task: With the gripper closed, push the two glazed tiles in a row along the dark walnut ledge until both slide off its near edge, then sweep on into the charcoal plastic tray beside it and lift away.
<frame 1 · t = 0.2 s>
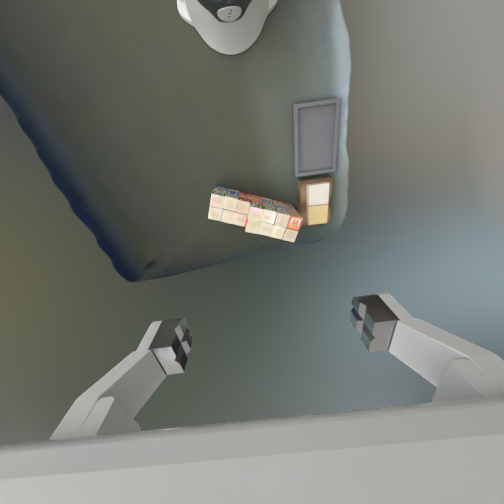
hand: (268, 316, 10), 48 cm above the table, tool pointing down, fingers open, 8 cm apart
tray: (313, 140, 48), on the table
cream tile: (316, 193, 51), point 3 cm above the table, touching walnut ledge
ochre tile: (315, 212, 53), point 3 cm above the table, touching walnut ledge
walnut ledge: (312, 200, 55), on the table
stack of blocks: (252, 205, 55), on the table
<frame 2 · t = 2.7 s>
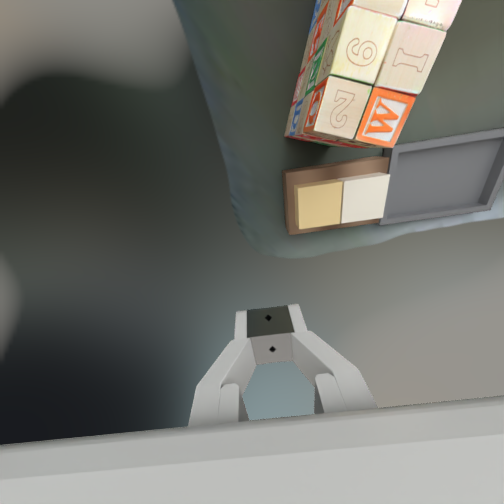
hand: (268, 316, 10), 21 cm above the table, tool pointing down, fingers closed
tray: (433, 178, 27), on the table
cream tile: (356, 196, 25), point 3 cm above the table, touching walnut ledge
ochre tile: (314, 202, 25), point 3 cm above the table, touching walnut ledge
walnut ledge: (326, 194, 28), on the table
stack of blocks: (339, 25, 20), on the table
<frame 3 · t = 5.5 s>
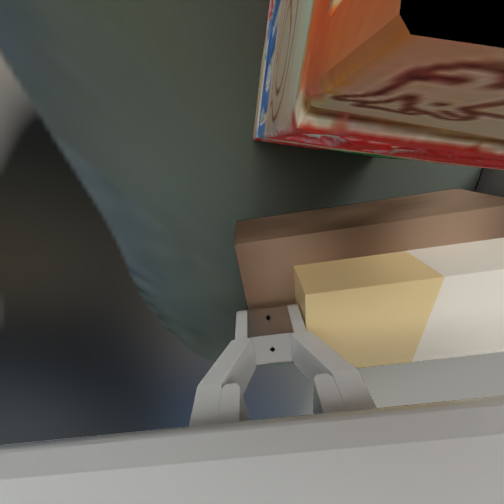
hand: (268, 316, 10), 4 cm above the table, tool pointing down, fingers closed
cream tile: (445, 287, 10), point 3 cm above the table, touching ochre tile
ochre tile: (344, 300, 10), point 3 cm above the table, touching cream tile, gripper
walnut ledge: (340, 266, 13), on the table
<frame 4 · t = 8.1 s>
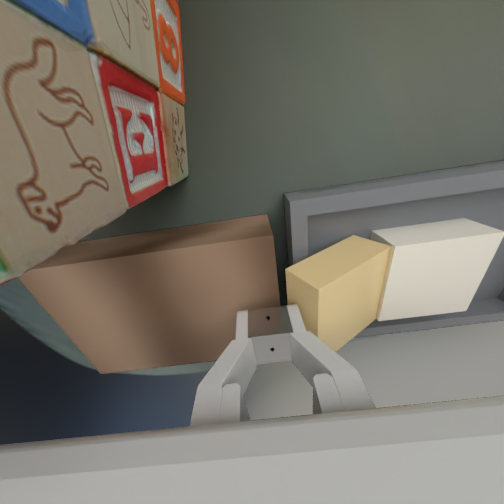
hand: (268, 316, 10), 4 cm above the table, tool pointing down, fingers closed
tray: (405, 254, 13), on the table
cream tile: (434, 282, 10), point 3 cm above the table, tilted 180°, touching ochre tile
ochre tile: (321, 288, 11), point 2 cm above the table, tilted 30°, touching cream tile, gripper
walnut ledge: (184, 284, 13), on the table
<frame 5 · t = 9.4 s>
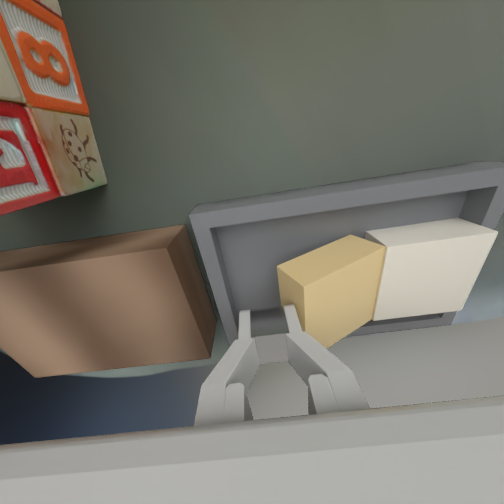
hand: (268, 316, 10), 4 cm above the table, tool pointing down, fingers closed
tray: (330, 262, 13), on the table
cream tile: (428, 281, 10), point 3 cm above the table, tilted 180°, touching ochre tile, tray
ochre tile: (316, 286, 12), point 2 cm above the table, tilted 26°, touching cream tile, gripper
walnut ledge: (118, 290, 14), on the table
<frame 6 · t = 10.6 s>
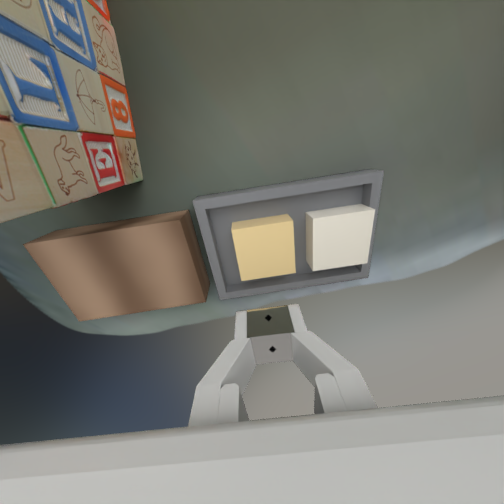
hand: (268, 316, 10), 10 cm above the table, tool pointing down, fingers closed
tray: (286, 236, 19), on the table
cream tile: (341, 242, 17), point 3 cm above the table, tilted 180°, touching tray
ochre tile: (263, 243, 19), point 1 cm above the table, touching tray
walnut ledge: (139, 259, 19), on the table
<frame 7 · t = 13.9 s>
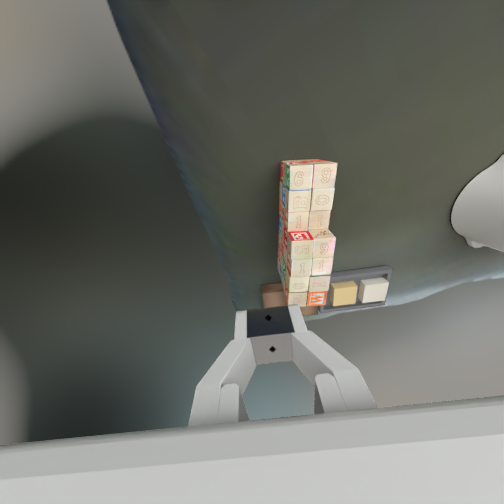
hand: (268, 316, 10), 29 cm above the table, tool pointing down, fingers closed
tray: (350, 287, 46), on the table
cream tile: (375, 293, 44), point 3 cm above the table, tilted 180°, touching tray
ochre tile: (341, 290, 46), point 1 cm above the table, touching tray
walnut ledge: (288, 295, 47), on the table
stack of blocks: (294, 220, 38), on the table
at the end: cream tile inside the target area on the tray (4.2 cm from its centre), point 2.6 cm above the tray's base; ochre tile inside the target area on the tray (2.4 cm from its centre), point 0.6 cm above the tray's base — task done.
